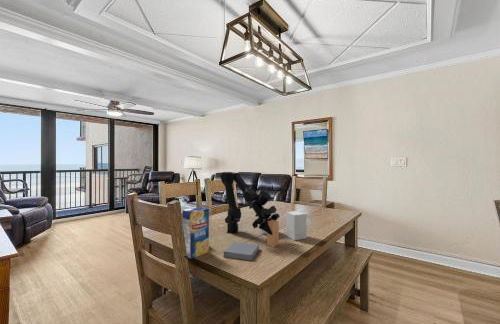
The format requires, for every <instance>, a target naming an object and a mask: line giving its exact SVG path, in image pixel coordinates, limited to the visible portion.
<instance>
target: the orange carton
mask: <svg viewBox="0 0 500 324" xmlns="http://www.w3.org/2000/svg"><path fill="white" fill-rule="evenodd" d="M279 224H280V222H279V221H278V220H276V221H275V220H270V221H268V226H269V228H270V230H271V231H272V233H273V234H272V235H270V234H269V233H267V234H266V245H267V246H269V247H273V248H274V247H277V246H279V242H280V240H279V235H280V233H279V230H280V229H279Z"/></svg>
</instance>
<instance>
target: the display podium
mask: <svg viewBox="0 0 500 324" xmlns="http://www.w3.org/2000/svg"><path fill="white" fill-rule="evenodd" d="M259 250H260V244H257V243H256V244H255V243H247V242H239V241H233V242H232V243H231V244H230V245H229V246H228V247H226V249H225V250H224V251H223V258H231V259H236V260H237V259H238V260H244V261H245V260H246V261H252V260H253V259H254V257H255V256H256V254H257V253H258V252H259Z"/></svg>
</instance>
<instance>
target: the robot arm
mask: <svg viewBox="0 0 500 324" xmlns="http://www.w3.org/2000/svg"><path fill="white" fill-rule="evenodd" d="M220 180H221V183H222V184H223V186H224V188H225V193H226V194H225V195H226V198H227V199H226V200H227V204H228V210H227V216H226V217H225V219H224V222H225V223H226V224H227V229H226V230H227V231H226V233H227V234H237V233H238V231H239V223H238V222H240V221H241V218H242V210H241V208H240V207H238V206H237V201H236V197H235V191H234V186H233V183H235V184H236V185H237V187H238V188H239V189H240V190H241V192H242V198H243V199H244V201H245V202H246V203H249V209H251V210H252V209H253V212H254V213H255V217H256V219H255V220H254V221H252V225H251V226H252V227H253V229H257V228H258V229H259V228H260V229H262V230H264V231H266V232H267V233H269V234H270V235H272V234H273V233H272V231H271V230H270V228H269V226H268V221H270V220H275V221H278V219H279V218H280V217H281V216H280V214H279V213H277V208H276V206H275V205H272V206H270V207H269V208H267V207H264V206H265V205H266V204H267V203H268V202H269V201H270V200H271V198H272V197H271V194H270V193H268V192H267V191H266V190H261V191H260V192H259V193H258V192H256V190H254V189H252V188H250V187H249V185H248V184H247V183H246V181H245V180H244V179H243V177H242V176H241V174H240V173H239V172H231V171H224V172H221V174H220ZM270 216H271V217H270ZM257 217H258V218H257ZM260 229H259V230H260Z"/></svg>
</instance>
